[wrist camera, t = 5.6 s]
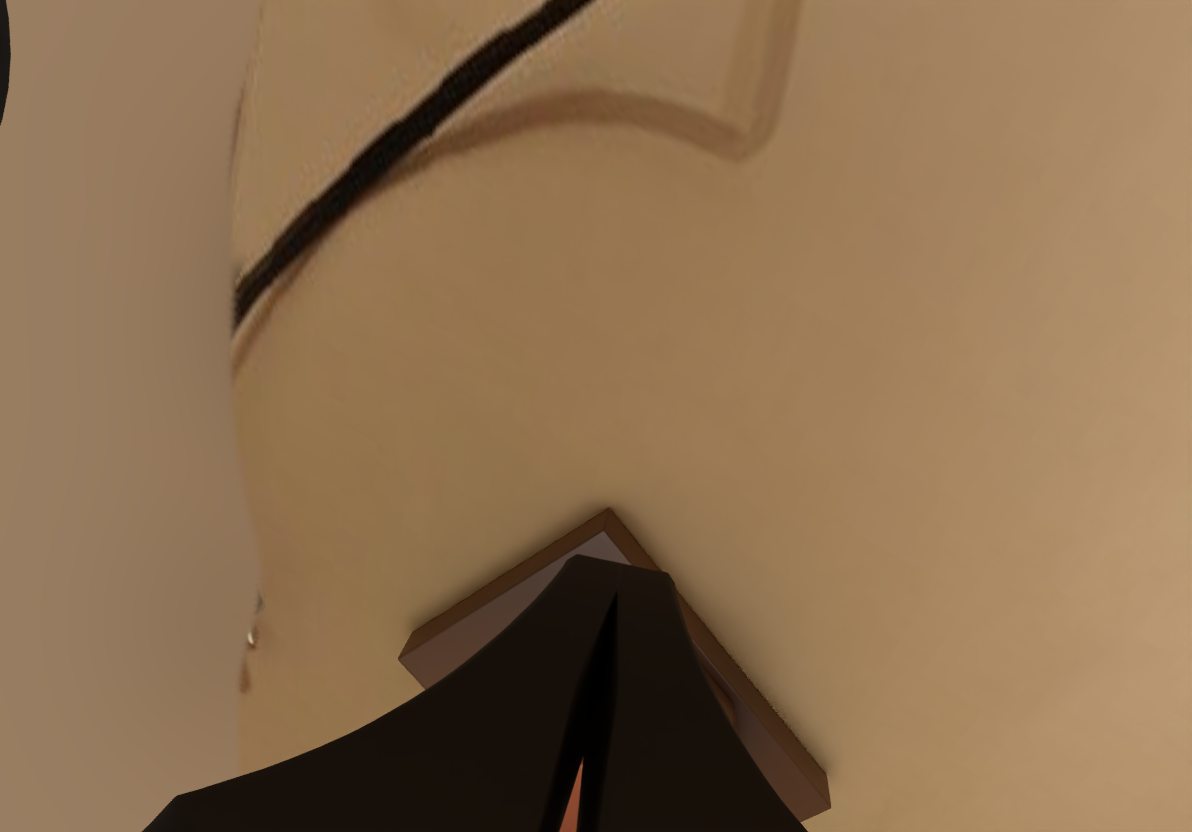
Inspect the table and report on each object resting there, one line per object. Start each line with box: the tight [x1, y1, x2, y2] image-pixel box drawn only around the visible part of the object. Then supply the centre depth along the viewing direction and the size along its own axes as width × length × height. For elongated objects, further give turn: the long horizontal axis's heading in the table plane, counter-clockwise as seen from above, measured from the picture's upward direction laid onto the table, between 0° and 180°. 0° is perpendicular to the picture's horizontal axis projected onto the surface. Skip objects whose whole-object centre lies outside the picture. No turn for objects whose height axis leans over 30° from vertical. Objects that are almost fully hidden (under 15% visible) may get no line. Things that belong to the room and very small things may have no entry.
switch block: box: [398, 509, 831, 822], centre depth 24 cm, size 10×7×3 cm
